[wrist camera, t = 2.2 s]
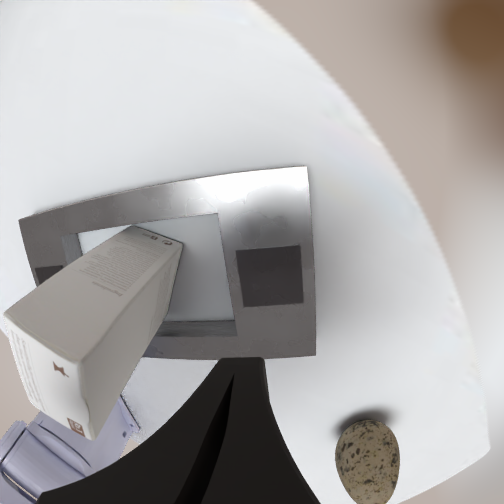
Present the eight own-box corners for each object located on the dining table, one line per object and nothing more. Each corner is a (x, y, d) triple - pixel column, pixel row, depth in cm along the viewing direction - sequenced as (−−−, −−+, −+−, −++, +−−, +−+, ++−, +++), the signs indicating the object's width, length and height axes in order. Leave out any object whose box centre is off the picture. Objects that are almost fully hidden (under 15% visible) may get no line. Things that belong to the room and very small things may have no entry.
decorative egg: (326, 442, 24) (332, 522, 15) (339, 408, 22) (352, 502, 13) (378, 437, 24) (394, 512, 14) (396, 403, 22) (423, 487, 12)
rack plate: (313, 338, 20) (315, 356, 18) (72, 336, 23) (60, 347, 21) (303, 165, 16) (306, 166, 14) (33, 214, 19) (17, 220, 17)
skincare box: (130, 222, 18) (-7, 302, 7) (189, 243, 18) (78, 361, 7) (120, 297, 20) (22, 400, 9) (171, 318, 20) (94, 446, 9)
